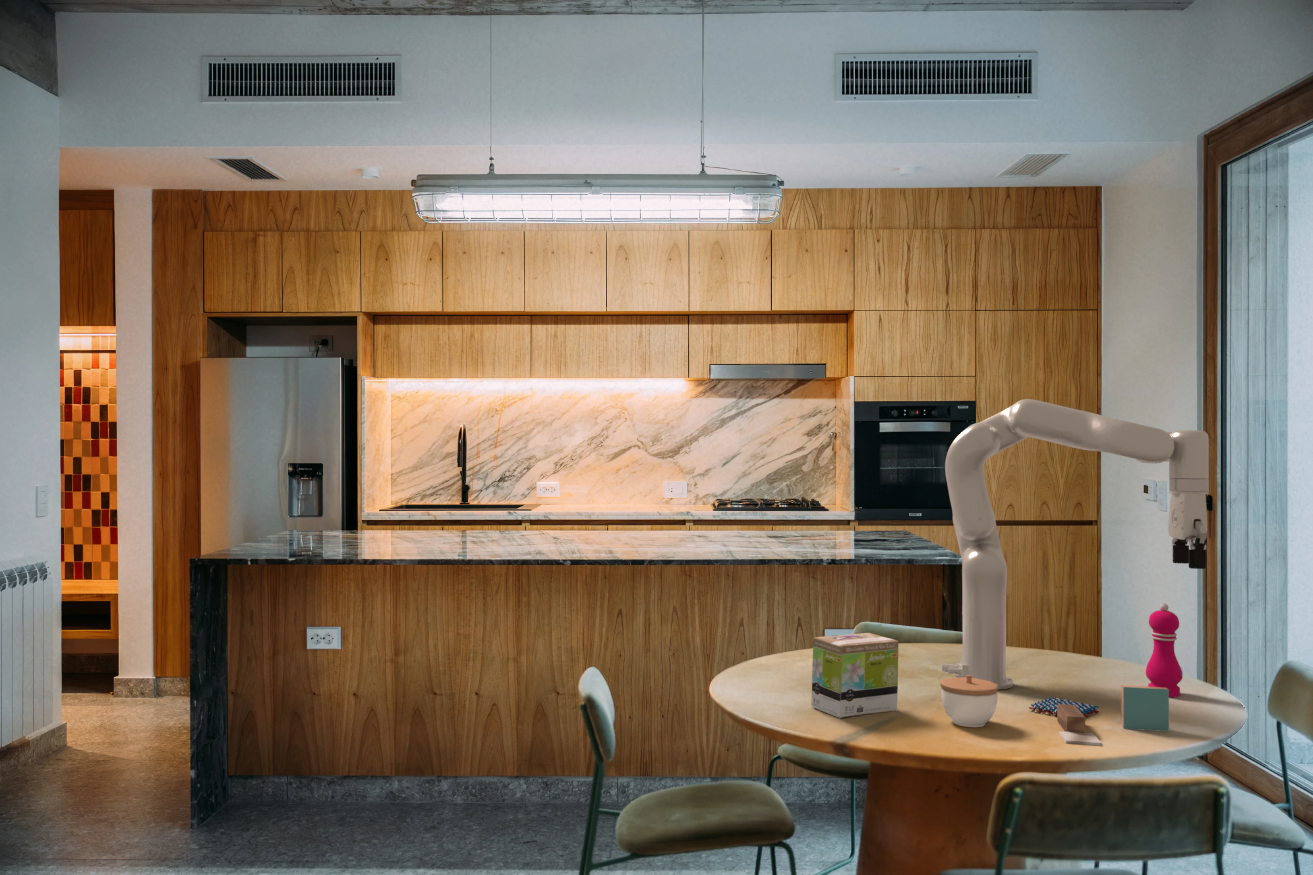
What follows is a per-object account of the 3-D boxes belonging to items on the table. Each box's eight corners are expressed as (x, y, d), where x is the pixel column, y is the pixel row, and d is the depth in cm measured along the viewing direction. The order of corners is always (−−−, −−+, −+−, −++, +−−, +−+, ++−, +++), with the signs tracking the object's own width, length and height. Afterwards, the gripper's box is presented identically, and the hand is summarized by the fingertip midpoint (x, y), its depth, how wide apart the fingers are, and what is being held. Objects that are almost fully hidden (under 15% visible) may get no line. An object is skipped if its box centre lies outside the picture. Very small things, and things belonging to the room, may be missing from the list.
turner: (1065, 743, 174) (1065, 724, 174) (1049, 721, 189) (1049, 703, 189) (1101, 746, 173) (1101, 726, 173) (1082, 723, 188) (1082, 705, 188)
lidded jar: (999, 733, 180) (999, 683, 180) (940, 728, 183) (941, 679, 183) (995, 717, 191) (995, 671, 191) (939, 713, 193) (940, 667, 194)
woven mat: (1049, 704, 203) (1049, 695, 203) (1100, 715, 195) (1100, 705, 195) (1026, 713, 196) (1026, 703, 196) (1078, 724, 188) (1078, 714, 188)
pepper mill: (1187, 698, 206) (1187, 606, 207) (1151, 696, 208) (1151, 605, 208) (1176, 690, 213) (1176, 601, 214) (1141, 688, 215) (1141, 600, 215)
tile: (1123, 728, 184) (1123, 687, 184) (1121, 726, 185) (1121, 685, 186) (1168, 731, 182) (1168, 689, 182) (1166, 728, 184) (1166, 687, 184)
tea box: (841, 719, 188) (841, 645, 189) (810, 707, 197) (810, 636, 198) (899, 710, 195) (899, 638, 196) (867, 699, 204) (867, 630, 204)
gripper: (1156, 485, 216) (1156, 560, 216) (1184, 488, 199) (1184, 570, 199) (1192, 485, 214) (1192, 561, 214) (1223, 488, 197) (1223, 571, 197)
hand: (1188, 565), depth 206 cm, fingers open, 9 cm apart
